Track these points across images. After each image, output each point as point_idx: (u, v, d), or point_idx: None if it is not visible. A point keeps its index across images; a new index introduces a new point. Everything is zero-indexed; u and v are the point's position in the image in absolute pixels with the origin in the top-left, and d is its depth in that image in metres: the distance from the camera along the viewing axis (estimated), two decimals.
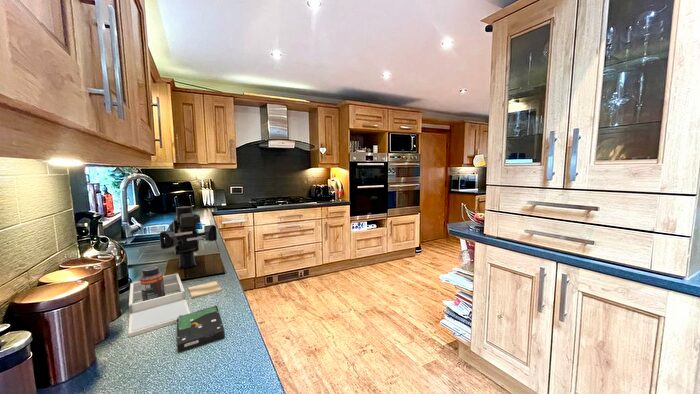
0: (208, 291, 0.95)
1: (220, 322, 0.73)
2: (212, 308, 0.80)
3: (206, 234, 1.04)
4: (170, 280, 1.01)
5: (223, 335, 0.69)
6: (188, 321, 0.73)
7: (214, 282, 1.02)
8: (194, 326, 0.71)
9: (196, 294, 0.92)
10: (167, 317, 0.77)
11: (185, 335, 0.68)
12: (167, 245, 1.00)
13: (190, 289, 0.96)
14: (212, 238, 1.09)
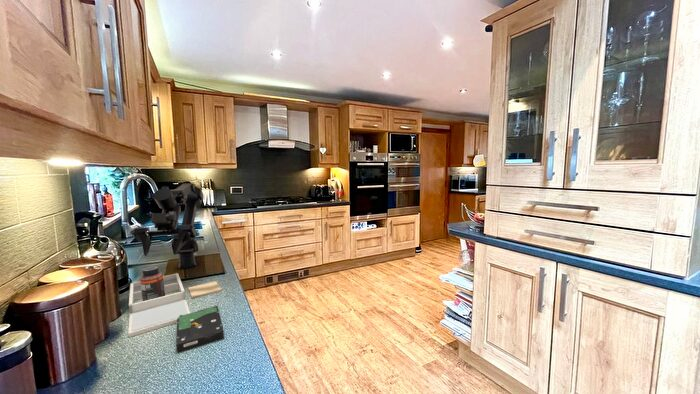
0: (208, 291, 0.95)
1: (220, 322, 0.72)
2: (212, 308, 0.80)
3: (177, 244, 0.97)
4: (170, 280, 1.01)
5: (222, 336, 0.69)
6: (188, 321, 0.73)
7: (214, 282, 1.02)
8: (193, 326, 0.71)
9: (196, 294, 0.92)
10: (167, 317, 0.77)
11: (184, 335, 0.68)
12: None
13: (190, 289, 0.96)
14: (189, 238, 1.02)
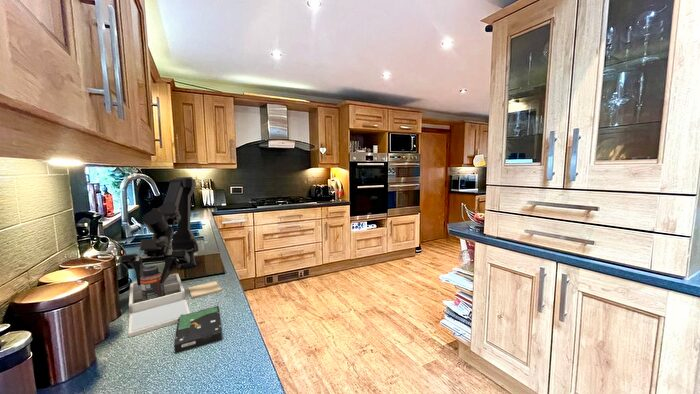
0: (208, 291, 0.95)
1: (219, 323, 0.72)
2: (213, 308, 0.80)
3: (163, 273, 0.88)
4: (170, 280, 1.01)
5: (221, 337, 0.69)
6: (188, 321, 0.73)
7: (214, 282, 1.02)
8: (193, 326, 0.71)
9: (196, 294, 0.92)
10: (167, 317, 0.77)
11: (183, 335, 0.68)
12: None
13: (190, 289, 0.96)
14: (177, 265, 0.94)
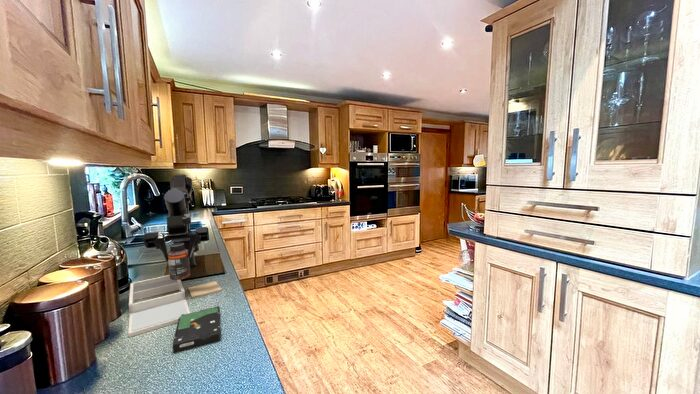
0: (208, 291, 0.95)
1: (218, 324, 0.72)
2: (214, 308, 0.80)
3: (190, 248, 0.92)
4: (170, 280, 1.01)
5: (219, 338, 0.68)
6: (188, 321, 0.73)
7: (214, 282, 1.02)
8: (192, 326, 0.71)
9: (196, 294, 0.92)
10: (167, 317, 0.77)
11: (182, 335, 0.68)
12: (158, 247, 0.92)
13: (190, 289, 0.96)
14: (199, 242, 0.97)
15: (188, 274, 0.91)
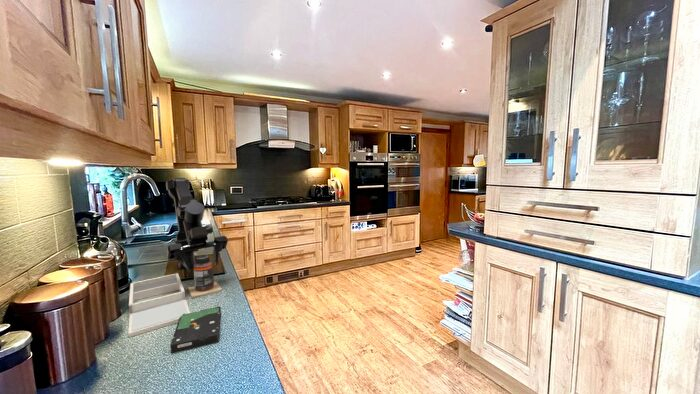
0: (208, 291, 0.95)
1: (217, 325, 0.71)
2: (215, 309, 0.80)
3: (216, 256, 0.98)
4: (170, 280, 1.01)
5: (217, 339, 0.68)
6: (189, 321, 0.73)
7: (214, 282, 1.02)
8: (192, 327, 0.71)
9: (196, 294, 0.92)
10: (167, 317, 0.77)
11: (181, 335, 0.68)
12: (176, 258, 0.94)
13: (190, 289, 0.96)
14: (220, 250, 1.03)
15: (213, 284, 0.97)
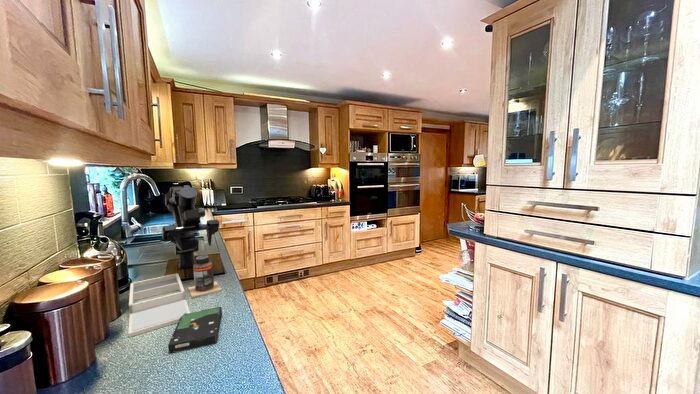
0: (208, 291, 0.95)
1: (216, 325, 0.71)
2: (216, 309, 0.80)
3: (209, 237, 1.05)
4: (170, 280, 1.01)
5: (215, 340, 0.67)
6: (189, 321, 0.74)
7: (214, 282, 1.02)
8: (191, 327, 0.71)
9: (196, 294, 0.92)
10: (167, 317, 0.77)
11: (180, 335, 0.68)
12: (169, 239, 1.01)
13: (190, 289, 0.96)
14: (213, 232, 1.10)
15: (213, 284, 0.97)
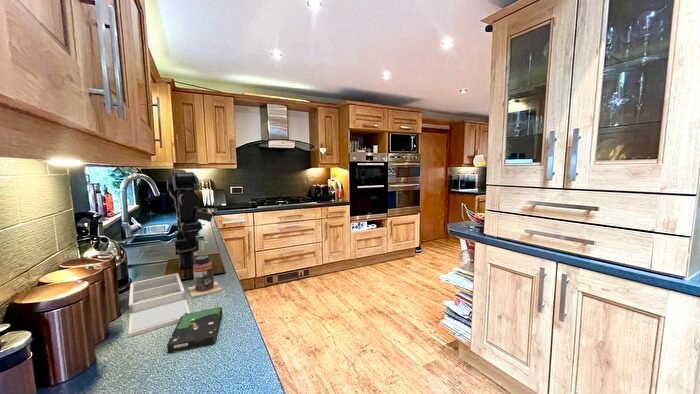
0: (208, 291, 0.95)
1: (215, 326, 0.71)
2: (216, 309, 0.79)
3: None
4: (170, 280, 1.01)
5: (213, 341, 0.67)
6: (189, 321, 0.74)
7: (214, 282, 1.02)
8: (190, 327, 0.71)
9: (196, 294, 0.92)
10: (167, 317, 0.77)
11: (179, 335, 0.68)
12: (186, 232, 0.99)
13: (190, 289, 0.96)
14: (181, 226, 1.11)
15: (213, 284, 0.97)
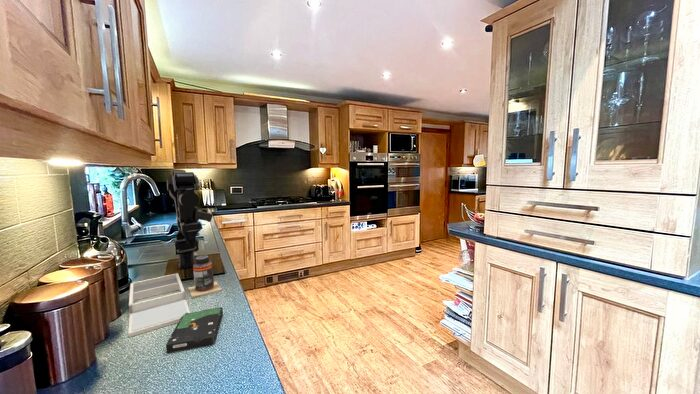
0: (208, 291, 0.95)
1: (215, 326, 0.71)
2: (217, 309, 0.79)
3: None
4: (170, 280, 1.01)
5: (212, 341, 0.67)
6: (189, 321, 0.74)
7: (214, 282, 1.02)
8: (190, 327, 0.71)
9: (196, 294, 0.92)
10: (167, 317, 0.77)
11: (178, 335, 0.68)
12: (186, 232, 0.99)
13: (190, 289, 0.96)
14: (181, 226, 1.11)
15: (213, 284, 0.97)
